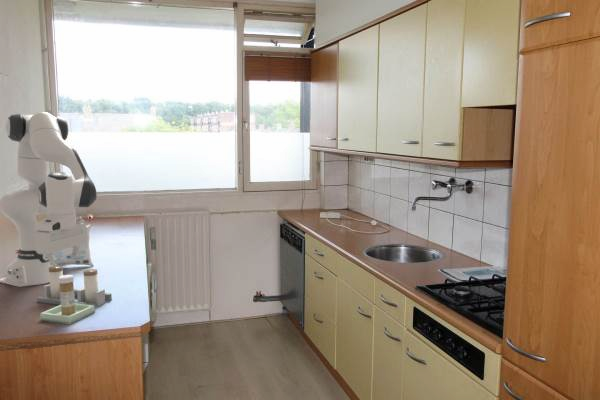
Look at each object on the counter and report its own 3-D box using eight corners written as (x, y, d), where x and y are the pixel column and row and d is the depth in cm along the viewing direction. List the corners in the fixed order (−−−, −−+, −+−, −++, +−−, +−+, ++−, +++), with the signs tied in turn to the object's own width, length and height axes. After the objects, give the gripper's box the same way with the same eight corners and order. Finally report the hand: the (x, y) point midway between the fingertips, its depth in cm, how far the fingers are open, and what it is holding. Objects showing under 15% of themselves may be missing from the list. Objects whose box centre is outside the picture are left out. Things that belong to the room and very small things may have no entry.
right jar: (82, 304, 194) (80, 272, 192) (91, 300, 198) (89, 268, 196) (92, 305, 192) (91, 273, 190) (101, 301, 196) (100, 269, 195)
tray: (41, 320, 178) (40, 313, 177) (67, 308, 189) (67, 302, 188) (69, 324, 174) (69, 317, 173) (94, 312, 185) (94, 305, 185)
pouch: (92, 268, 243) (89, 225, 240) (47, 271, 239) (44, 227, 236) (94, 264, 251) (92, 222, 248) (51, 266, 247) (48, 224, 244)
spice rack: (37, 301, 197) (36, 288, 196) (58, 293, 207) (57, 280, 206) (92, 308, 189) (91, 295, 188) (111, 299, 198) (111, 287, 198)
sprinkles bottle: (71, 311, 184) (69, 273, 182) (78, 314, 181) (75, 275, 179) (58, 314, 180) (56, 276, 179) (65, 317, 178) (62, 278, 176)
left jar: (47, 299, 199) (45, 268, 197) (57, 296, 203) (55, 265, 202) (57, 301, 197) (55, 269, 196) (67, 297, 202) (65, 266, 200)
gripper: (77, 215, 187) (78, 253, 189) (30, 225, 168) (32, 268, 170) (91, 217, 185) (93, 255, 187) (45, 227, 166) (48, 270, 168)
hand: (64, 261), depth 179 cm, fingers open, 8 cm apart
